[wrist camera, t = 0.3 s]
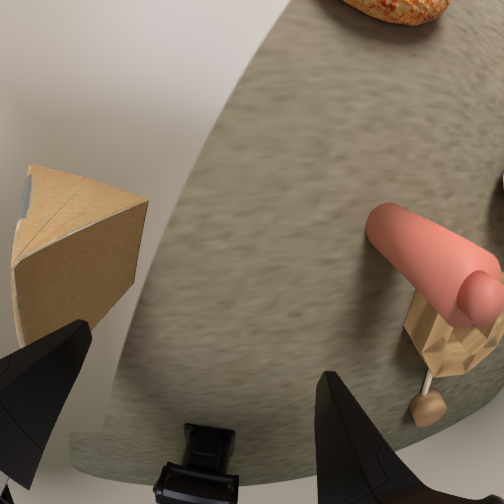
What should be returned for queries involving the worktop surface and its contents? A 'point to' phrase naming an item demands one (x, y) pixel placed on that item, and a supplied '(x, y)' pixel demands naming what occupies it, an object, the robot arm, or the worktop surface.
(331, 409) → the robot arm
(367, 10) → the bagel
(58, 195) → the sandwich container
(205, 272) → the worktop surface
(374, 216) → the pink bottle
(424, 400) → the small bead
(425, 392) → the white thin stick
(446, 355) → the bead
